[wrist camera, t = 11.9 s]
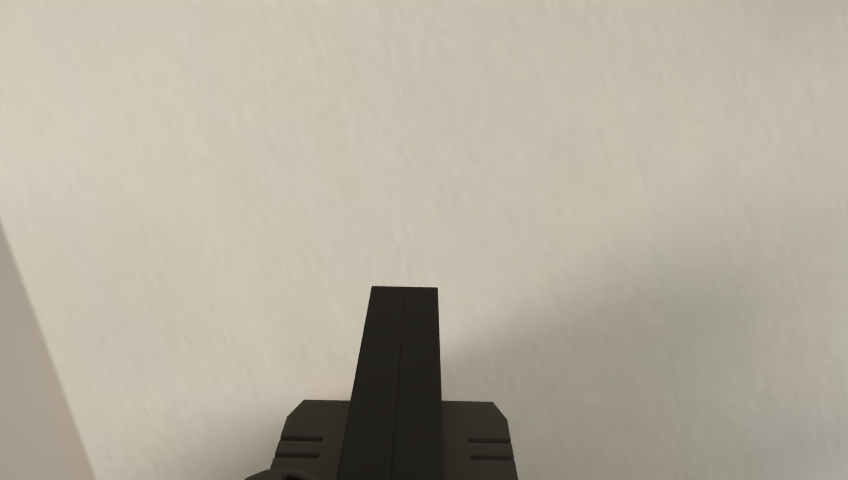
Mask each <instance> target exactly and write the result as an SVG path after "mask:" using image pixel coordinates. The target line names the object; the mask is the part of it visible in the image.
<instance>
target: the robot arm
mask: <svg viewBox="0 0 848 480" xmlns="http://www.w3.org/2000/svg"><path fill="white" fill-rule="evenodd" d="M245 480H518V477H517V472H516V466H515V461H514V455H513V450H512V445H511V439H510V434H509V428H508V423H507V419H506V418H505V417H504V415H503V414H502V413H501V412H500V410H499V409H498V408H497V407H496V406H495V404H494V403H493V402H472V401H442V398H441V369H440V340H439V311H438V288H433V287H387V286H372V288H371V294H370V299H369V305H368V310H367V315H366V321H365V326H364V331H363V337H362V342H361V347H360V353H359V358H358V364H357V369H356V374H355V380H354V385H353V390H352V396H351V401H338V400H303V401H302V402H301V403H300V404H299V405H298V406H297V407H296V408H295V409H294V410H293V411H292V412H291V413H290V414H289V415H288V417H287V419H286V422H285V425H284V428H283V431H282V434H281V440H280V441H279V443H278V446H277V450H276V453H275V458H274V459H273V462H272V465H271V468H270V470H265V471H263V472H260V473H257V474H255V475H252V476H250V477H248V478H246V479H245Z"/></svg>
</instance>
